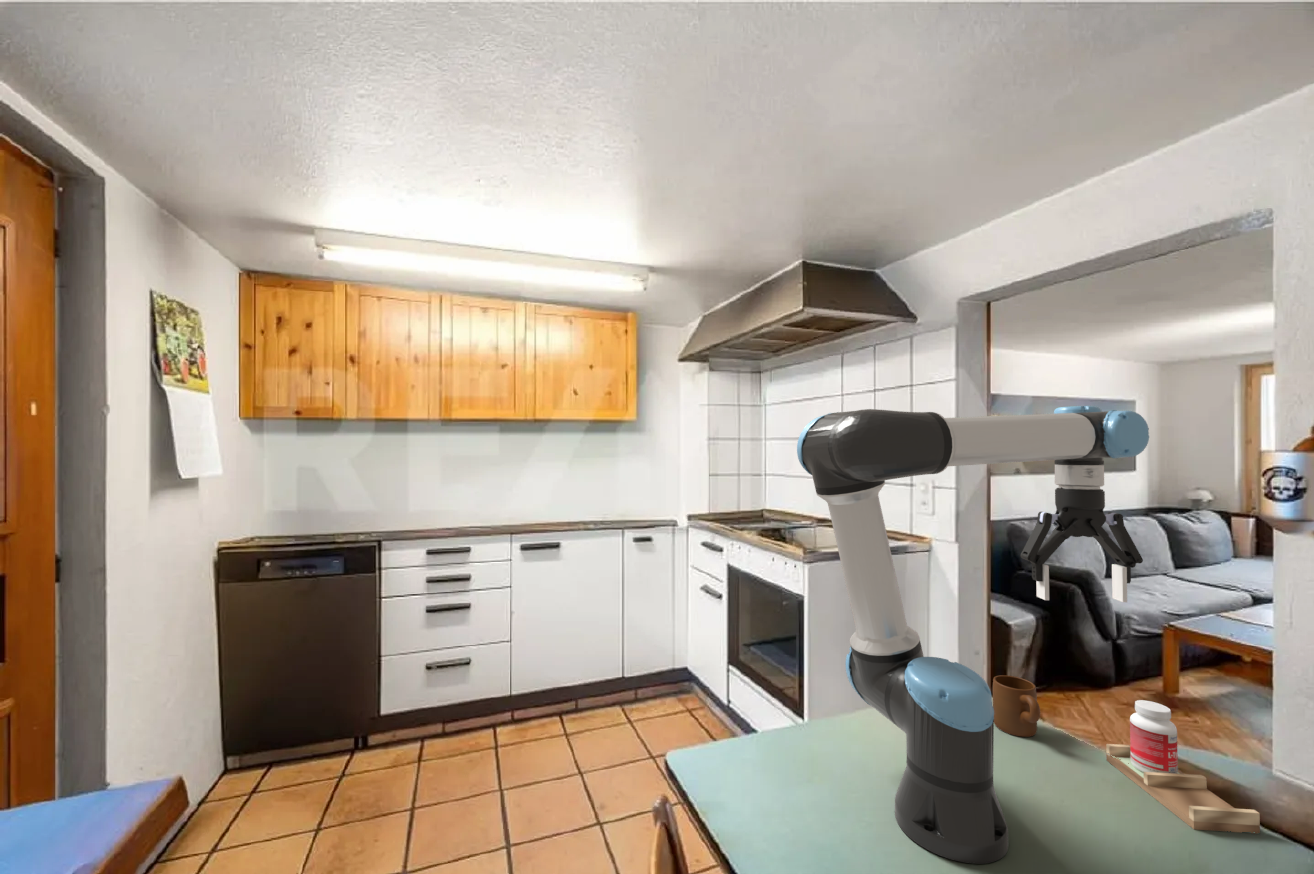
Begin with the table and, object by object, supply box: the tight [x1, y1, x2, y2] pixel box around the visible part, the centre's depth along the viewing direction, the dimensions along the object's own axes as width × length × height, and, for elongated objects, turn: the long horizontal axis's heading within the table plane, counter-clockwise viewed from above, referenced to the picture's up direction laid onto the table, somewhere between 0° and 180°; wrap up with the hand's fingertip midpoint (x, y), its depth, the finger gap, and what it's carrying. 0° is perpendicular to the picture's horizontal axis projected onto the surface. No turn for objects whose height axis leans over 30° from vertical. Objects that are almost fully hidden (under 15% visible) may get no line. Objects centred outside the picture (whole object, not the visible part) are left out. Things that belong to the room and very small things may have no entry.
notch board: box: [1105, 743, 1261, 834], centre depth 91 cm, size 9×18×3 cm, turn 174°
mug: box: [992, 674, 1041, 738], centre depth 110 cm, size 12×8×9 cm, turn 174°
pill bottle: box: [1129, 699, 1179, 774], centre depth 96 cm, size 6×6×11 cm
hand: (1081, 599), depth 104 cm, fingers open, 13 cm apart
